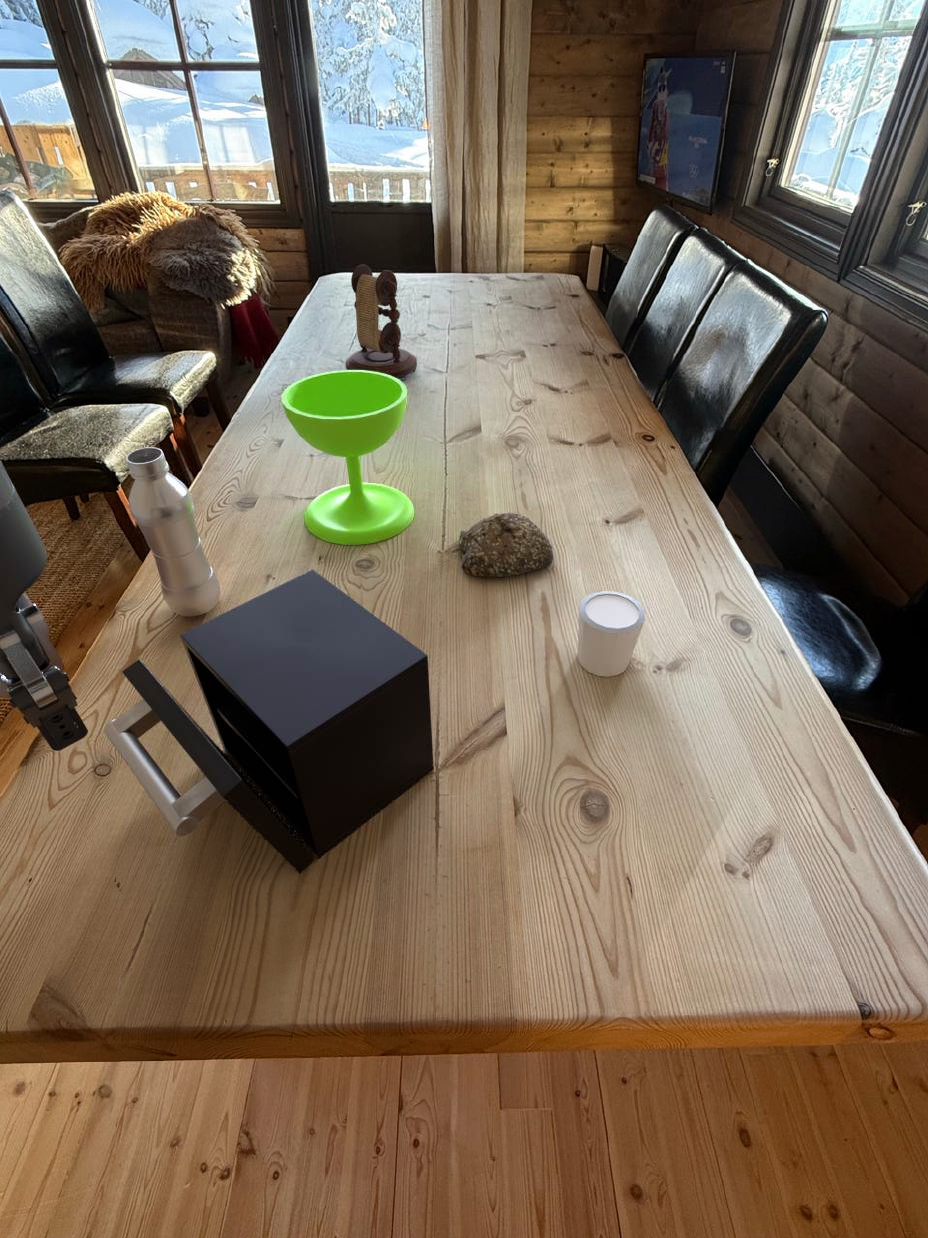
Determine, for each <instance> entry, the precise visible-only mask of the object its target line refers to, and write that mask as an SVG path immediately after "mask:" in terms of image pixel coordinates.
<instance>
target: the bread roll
mask: <svg viewBox="0 0 928 1238" xmlns="http://www.w3.org/2000/svg"><path fill="white" fill-rule="evenodd" d="M457 544H458V547H457V552H458V554H459V555H460V557H461V569H462V570H464V571H465V572H466V573H468V574H469V575H471V576H473V577H486V578H489V577H491V578H492V577H498V578H502V577H503V578H504V577H510V576H516V575H522V574H527V573H528V572H531V571H535V570H541V569H544V568H546V567H549V566H550V565H551V564H552V563H553V560H554V552H553V545H551V541H550V539H549V538H547V536H546V535H545V532H543V531H542V530H541V528H539V527H538V525H536V524H535V523H534V522H533V521H532V520H530V518H529V517H527V516H524V515H521V514H519V513H516V512H503V513H494V514H492V515H489V516H488V517H484V518H483V519H481V520H479V521H478V522H476V523H475V524H473V525H472V526H471V527H469V529H468V530H460V535H459V536H458V543H457Z"/></svg>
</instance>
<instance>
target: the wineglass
mask: <svg viewBox="0 0 928 1238" xmlns="http://www.w3.org/2000/svg"><path fill="white" fill-rule="evenodd" d="M407 402H408V389H407V385H406V383H404V382H403V380H402V381H401V379H399V378H398V377H397V378H395V377H393V376H391V375H388V374H384V373H380V372H374V371H366V370H346V369H342V370H332V371H326V372H321V373H316V374H313V375H308V376H307V377H303V378H301V379H299V380H296V381H294V382H293V383H291V384H290V385H288V386H287V387H286V388H285V389H284V390H283V392H282V394H281V404H282V407H283V410H284V413H285V416H286V418H287V420H288V421H289V423H290V424H291V426H292V427H293V429H294V430H295V432H296V433H297V434H298V436H299V437H300V438H301V439H303V440H304V441H305V442H306V443H307V444H309V446H310V447H313V448H315V449H316V450H317V451H320V452H323V453H326V454H328V455H331V456H334V457H339V458H345V461H346V468H347V478H348V483H347V484H343V485H339V486H336V487H333V488H331V489H328V490H326V491H324V492H322V493H321V494H319V495H318V496H316V497H315V498H314V499H313V500H312V501H311V502H310V503H309V504H308V505H307V507H306V511H305V513H304V517H303V518H304V525H305V528H307V530H308V532H310V533H311V534H312V535H313V536H315V537H316V538H318V539H320V540H323V541H325V542H328V543H331V544H332V543H333V544H338V545H344V546H346V545H347V546H359V545H360V546H362V545H369V544H376V543H378V542H382V541H386V540H388V539H390V538H393V537H394V536H397V535H400V533H402V532H403V531H404V530H405V529H407V528H409V526H410V525H411V523H412V522H413V520H414V517H415V513H416V512H415V508H414V504H413V501H411V499H410V498H409V497H408V495H406V493H404V492H402V491H400V490H399V489H397V488H395V487H392V486H389V485H386V484H381V483H375V482H363V481H364V480H363V472H362V463H361V456H366V455H368V454H371V453H373V452H374V451H376V450H378V449H379V448H380V447H382V446H383V445H386V443H388V442H389V441H390V440H391V439H392V437H393V436H394V434H395V433H396V432H397V431H398V429H399V428H400V426H401V424H402V421H403V418H404V415H405V412H406V409H407V405H408V404H407Z"/></svg>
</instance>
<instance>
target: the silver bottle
mask: <svg viewBox="0 0 928 1238" xmlns="http://www.w3.org/2000/svg"><path fill="white" fill-rule="evenodd" d="M125 459H126V464H127V466H128V468H129V471H128V472H129V475H130V477H131V478H132V479H134V481H133V483H132V486H131V488H130V492H129V495H128V509H129V512H130V513H131V515H132V517H133V519H134V521H135V522H136V525H137V526H138V528H139V529H140V531H141V533H142V535H143V536H144V538H145V541H146V543H147V544H148V547H149V549H150V550H151V554H152V556H153V559H154V561H155V564H156V568H157V572H158V575H159V579H160V588H161V593H162V599H163V600H164V601H165V603H166V604H167V606H168V608H170V610H171V611H172V612H174V613H176V614H177V615H180V616H182V617H198V616H201V615H204V614H206V613H208V612H210V611H211V610H212V609H214V608H215V607H216V605H217V604H218V602H219V600H220V597H221V585H220V580H219V578H218V576H217V574H216V572H215V571H214V569H213V567H212V566H211V565H210V562H209V560H208V558H207V555H206V552H205V551H204V547H203V545H202V543H201V539H200V534H199V531H198V527H197V520H196V515H195V507H194V501H193V497H192V493H191V491H190V490H189V489H188V487H187V486H186V485H185V483H183V482H182V481H181V480H180V479H179V478H177V477H176V476H175V475H173V474H172V473H170V472H169V471H170V466H169V464H168V461H167V460H166V457H165V453H164V452H163V450H162V449H161V448H158V447H154V446H150V447H149V446H147V447H142V448H138V449H135V450H133V451H131V452H129V453H128V454H127V455H126V458H125Z"/></svg>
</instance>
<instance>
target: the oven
mask: <svg viewBox="0 0 928 1238" xmlns="http://www.w3.org/2000/svg"><path fill="white" fill-rule="evenodd" d="M179 637H180V639H181V642H182V644H183V647H184V650H185V653H186V656H187V658H188V660H189V663H190V665H191V668H192V671H193V673H194V676H195V678H196V681H197V684H198V686H199V690H200V691H201V694H202V697H203V699H204V702H205V705H206V708H207V710H208V712H209V715H210V717H211V719H212V722H213V725H214V728H215V730H216V733H217V735H218V738H219V741H220V744H221V745H222V748H223V750H224V752H226V754H227V756H229V757H230V758H231V760H232V761H233V762H234V763H235V764H236V765H237V767H238V768H239V769H240V770H241V771H242V772H243V774H244V775H245V777H247V778H248V779H249V781H251V782H252V784H253V785H254V786H255V787H256V788H257V790H258V791H259V792H260V793H261V794H262V796H263V797H264V798H265V799H266V800H267V802H268V803H269V804H270V805H271V806H272V807H273V808H274V810H275V811H276V812H277V813H278V814H279V816H280V817H282V819H283V820H284V821H285V823H287V824H288V826H289V827H290V828H291V829H292V830H293V832H294V833H295V834H296V835H297V836H298V837H299V839H300V840H301V841H302V842H303V844H305V846H306V847H307V848H308V849H309V850H310V851H311V852H312V853H313V855H314V856H315V857H316V858H317V859H318V860H320V859H321V858H322V857H324V856H325V855H326V854H327V853H329V852H330V851H331V850H333V849H334V848H335V847H337V846H338V845H339V844H340V843H341V842H343V841H344V840H346V839H347V838H348V837H349V836H351V835H352V834H353V833H355V831H357V830H359V829H360V828H361V827H362V826H364V825H365V824H366V823H368V822H369V821H370V820H371V819H373V818H374V817H375V816H377V815H378V814H379V813H381V811H383V810H384V809H386V808H387V807H389V805H390V804H392V803H393V802H394V801H396V800H397V799H398V798H400V797H401V796H402V795H403V794H405V793H406V792H407V791H408V790H410V789H411V788H412V787H414V786H415V785H416V784H418V783H419V782H420V781H422V780H423V779H424V778H426V777H427V776H428V775H429V774H431V773H432V772H433V771H434V769H435V768H434V767H435V766H434V749H433V748H434V747H433V729H432V709H431V693H430V691H431V689H430V674H429V671H430V670H429V656H428V654H426V653H425V652H424V651H422V650H421V649H420V648H419V647H418V646H416V645H414V643H412V642H410V641H409V640H408V639H406V638H405V637H404V636H403V635H401V634H400V633H398V632H397V631H396V630H394V629H393V628H392V627H390V625H388V624H386V623H385V622H384V621H382V620H381V619H380V618H378V617H377V616H376V615H375V614H373V613H372V612H370V611H369V610H368V609H367V608H366V607H364V606H363V605H362V604H360V603H359V602H357V601H356V600H354V598H352V597H351V596H349V595H347V594H346V593H345V592H344V591H342V590H341V589H340V588H339V587H337V586H336V585H335V584H333V583H332V582H331V581H329V580H328V579H327V578H326V577H324V576H322V575H321V574H319V572H317V571H316V570H314V569H313V568H312V569H310V570H308V571H306V572H304V573H302V574H300V575H298V576H296V577H294V578H292V579H289V580H288V581H286V582H284V583H282V584H280V585H278V586H276V587H274V588H271V589H270V590H268V591H265V592H264V593H261V594H260V595H257V596H255V597H253V598H252V599H250V600H248V601H245V602H243V603H241V604H239V605H237V606H235V607H234V608H231V609H229V610H227V611H225V612H224V613H221V614H219V615H217V616H216V617H214V618H211V619H209V620H207V621H205V622H204V623H201V624H199V625H197V626H196V627H193V628H191V629H189V630H187V631H185V632H183V633H181V634H180V636H179Z"/></svg>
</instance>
